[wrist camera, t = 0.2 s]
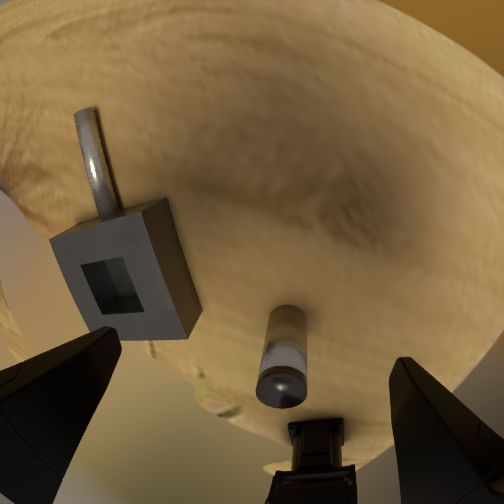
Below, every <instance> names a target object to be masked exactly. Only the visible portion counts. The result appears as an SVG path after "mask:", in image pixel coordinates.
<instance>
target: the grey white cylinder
mask: <svg viewBox="0 0 504 504" xmlns="http://www.w3.org/2000/svg"><path fill="white" fill-rule="evenodd" d="M256 396H257V398H258V399H259V400H260V401H261V402H262V403H264V404H265V405H267V406H270V407H273V408H280V409H285V408H292V407H295V406H297V405H299V404H301V403H302V402H303V401H304V400H305V399H306V396H307V319H306V316H305V314H304V312H303V311H302V310H301V309H299V308H297V307H295V306H291V305H284V306H280V307H277V308H276V309H274V310H273V311H272V312H271V313H270V315H269V319H268V325H267V331H266V336H265V342H264V348H263V354H262V359H261V365H260V371H259V376H258V381H257V387H256Z"/></svg>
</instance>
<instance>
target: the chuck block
mask: <svg viewBox="0 0 504 504" xmlns="http://www.w3.org/2000/svg"><path fill="white" fill-rule="evenodd" d="M74 120H75V125H76V130H77V135H78V140H79V144H80V149H81V153H82V157H83V161H84V165H85V169H86V173H87V177H88V180H89V184H90V188H91V191H92V195H93V198H94V201H95V205H96V208H97V211H98V214H99V217H98V218H95V219H92V220H89V221H86V222H83V223H80V224H77V225H75V226H73V227H71V228H69V229H67V230H66V231H64V232H62V233H60V234H58V235H56V236H55V237H53V238H51V239H49V241H50V243H51V246H52V249H53V252H54V254H55V257H56V259H57V262H58V264H59V267H60V269H61V272H62V274H63V276H64V279H65V281H66V283H67V286H68V288H69V290H70V292H71V294H72V297H73V299H74V301H75V303H76V305H77V307H78V309H79V311H80V313H81V315H82V317H83V319H84V321H85V323H86V325H87V327H88V329H89V331H90V332H92V331H94V330H97V329H99V328H101V327H103V326H108V327H113V328H115V329H116V330H117V333H118V336H119V340H120V341H121V340H124V341H128V340H129V341H140V340H180V339H188V338H189V336H190V334H191V332H192V330H193V328H194V326H195V324H196V322H197V320H198V318H199V316H200V314H201V312H202V308H201V305H200V302H199V299H198V297H197V294H196V291H195V288H194V285H193V282H192V279H191V276H190V273H189V270H188V267H187V264H186V261H185V258H184V255H183V252H182V249H181V246H180V243H179V239H178V236H177V233H176V230H175V226H174V223H173V220H172V216H171V213H170V210H169V206H168V203H167V199H166V198H163V199H159V200H156V201H152V202H148V203H145V204H141V205H138V206H134V207H131V208H128V209H124V210H121V211H120V210H119V206H118V203H117V200H116V196H115V193H114V190H113V186H112V182H111V179H110V175H109V172H108V168H107V164H106V160H105V156H104V152H103V148H102V144H101V139H100V135H99V130H98V126H97V121H96V116H95V111H94V108H85V109H82V110H80V111H78V112H76V113H75V114H74Z"/></svg>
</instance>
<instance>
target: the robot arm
mask: <svg viewBox="0 0 504 504" xmlns="http://www.w3.org/2000/svg"><path fill="white" fill-rule="evenodd" d="M121 351H122V347H121V343H120V340H119V336H118V333H117V330H116V329H115V328H113V327H108V326H103V327H101V328H99V329H97V330H94V331H92V332H90V333H88V334H85V335H83V336H81V337H78V338H76V339H74V340H72V341H69V342H67V343H65V344H62V345H60V346H58V347H55V348H53V349H51V350H49V351H46V352H44V353H42V354H39V355H37V356H35V357H32V358H30V359H28V360H25V361H23V362H21V363H18V364H16V365H14V366H11V367H9V368H6V369H4V370H1V371H0V504H53V501H54V499H55V497H56V494H57V492H58V489H59V487H60V485H61V483H62V479H63V477H64V475H65V473H66V471H67V468H68V467H69V464H70V462H71V460H72V458H73V456H74V453H75V451H76V449H77V447H78V445H79V443H80V441H81V439H82V436H83V435H84V432H85V430H86V428H87V426H88V424H89V422H90V420H91V418H92V416H93V414H94V412H95V410H96V408H97V406H98V405H99V403H100V400H101V399H102V397H103V395H104V393H105V391H106V389H107V387H108V384H109V382H110V379H111V377H112V374H113V372H114V369H115V367H116V365H117V362H118V360H119V357H120V355H121ZM389 391H390V406H391V422H392V430H393V436H394V443H395V450H396V457H397V465H398V474H399V482H400V494H401V504H504V439H503V438H502V437H500V436H499V435H498V434H497V433H495V432H494V431H493V430H492V429H491V428H490V427H489V426H488V425H486V424H485V423H484V422H483V421H482V420H480V418H479V417H478V416H477V415H475V414H474V413H473V412H472V411H471V410H470V409H469V408H468V407H467V406H465V405H464V404H463V403H462V402H461V401H460V400H459V399H458V398H457V397H455V396H454V395H453V394H452V393H451V392H450V391H449V390H448V389H446V388H445V387H444V386H443V385H442V384H441V383H440V382H438V381H437V380H436V379H435V378H434V377H433V376H432V375H431V374H429V373H428V372H427V371H426V370H425V369H424V368H423V367H421V366H420V365H419V364H418V363H417V362H416V361H414V360H413V359H412V358H411V357H399V358H398V359H397V360H396V362H395V364H394V367H393V369H392V372H391V374H390V377H389ZM288 431H289V435H290V438H291V442H292V445H293V456H292V467H291V471H281V470H280V471H276V473H275V476H273V480H272V485H271V488H270V492H269V494H268V497H267V499H266V501H265V504H357V485H356V472H355V464H353V465H350V466H343V467H342V450H341V446H343V445H344V420H343V419H342V418H338V419H330V420H321V421H311V422H299V423H290V424H288Z"/></svg>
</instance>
